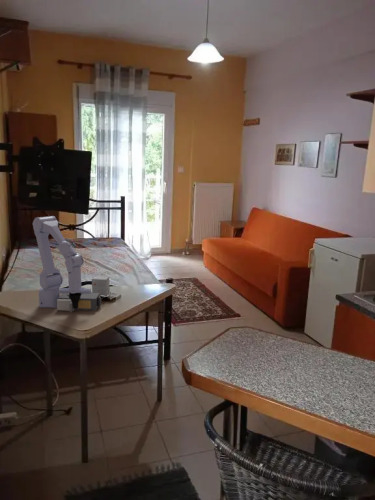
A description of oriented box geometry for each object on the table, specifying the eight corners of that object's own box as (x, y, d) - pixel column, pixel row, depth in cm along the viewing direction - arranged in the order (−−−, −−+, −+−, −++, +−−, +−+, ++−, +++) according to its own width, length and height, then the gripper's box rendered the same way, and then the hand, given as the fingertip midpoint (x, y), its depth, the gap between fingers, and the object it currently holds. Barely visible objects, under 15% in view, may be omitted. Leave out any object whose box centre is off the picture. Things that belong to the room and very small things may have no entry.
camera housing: (58, 309, 195) (58, 296, 194) (64, 303, 204) (63, 290, 203) (98, 310, 195) (98, 297, 194) (102, 304, 204) (102, 291, 203)
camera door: (55, 312, 191) (54, 302, 189) (58, 309, 195) (57, 299, 194) (72, 312, 191) (71, 302, 189) (74, 309, 195) (74, 299, 194)
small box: (109, 295, 218) (109, 276, 216) (106, 298, 213) (106, 279, 211) (95, 294, 219) (95, 275, 217) (92, 297, 213) (91, 278, 211)
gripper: (56, 282, 185) (57, 310, 187) (88, 283, 185) (89, 311, 187) (61, 278, 191) (62, 305, 194) (91, 278, 191) (92, 306, 194)
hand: (75, 307), depth 191 cm, fingers closed
